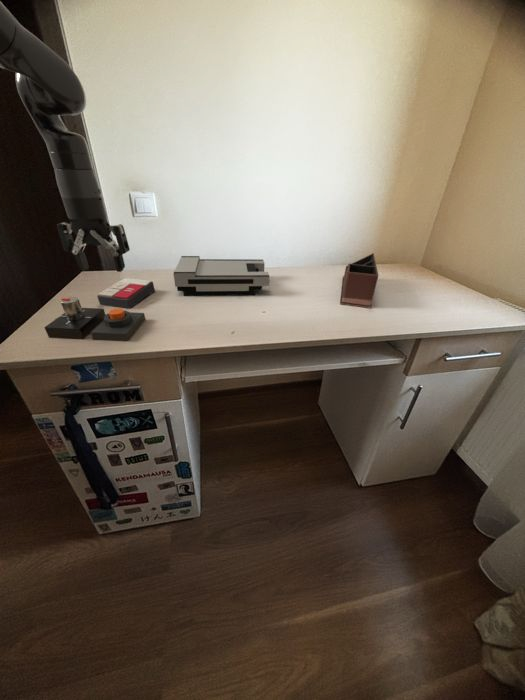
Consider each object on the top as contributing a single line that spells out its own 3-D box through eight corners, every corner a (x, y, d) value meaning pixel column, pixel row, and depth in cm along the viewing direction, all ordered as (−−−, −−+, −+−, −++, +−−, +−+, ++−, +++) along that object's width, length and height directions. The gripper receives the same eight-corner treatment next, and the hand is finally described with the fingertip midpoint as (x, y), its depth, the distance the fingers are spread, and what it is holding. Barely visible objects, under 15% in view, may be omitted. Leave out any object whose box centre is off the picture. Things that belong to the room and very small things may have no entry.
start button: (121, 320, 74) (119, 314, 73) (107, 320, 74) (106, 314, 73) (127, 314, 77) (125, 308, 76) (114, 314, 77) (112, 308, 76)
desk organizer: (339, 304, 96) (346, 271, 90) (342, 277, 120) (347, 250, 114) (371, 308, 94) (380, 275, 88) (368, 280, 118) (375, 253, 112)
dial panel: (83, 339, 72) (79, 328, 70) (48, 337, 72) (43, 326, 70) (106, 317, 82) (103, 308, 80) (75, 316, 82) (72, 306, 80)
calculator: (95, 293, 87) (124, 276, 99) (99, 306, 90) (127, 287, 102) (127, 297, 85) (153, 279, 97) (130, 310, 88) (155, 290, 100)
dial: (87, 314, 77) (81, 296, 74) (78, 321, 74) (71, 302, 71) (73, 313, 77) (66, 295, 74) (63, 319, 74) (56, 301, 71)
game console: (268, 295, 100) (269, 273, 96) (176, 296, 97) (173, 273, 92) (262, 276, 117) (263, 256, 113) (184, 276, 114) (181, 256, 109)
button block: (128, 341, 72) (124, 327, 70) (93, 339, 72) (88, 325, 70) (145, 319, 82) (142, 307, 80) (115, 318, 82) (111, 305, 80)
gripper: (35, 194, 56) (64, 274, 65) (106, 197, 56) (125, 276, 65) (59, 191, 62) (82, 264, 71) (122, 194, 62) (138, 266, 71)
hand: (103, 270), depth 68 cm, fingers open, 8 cm apart
